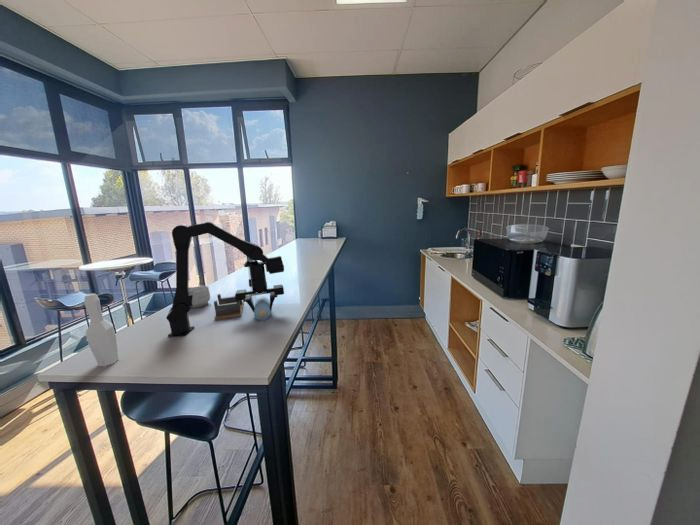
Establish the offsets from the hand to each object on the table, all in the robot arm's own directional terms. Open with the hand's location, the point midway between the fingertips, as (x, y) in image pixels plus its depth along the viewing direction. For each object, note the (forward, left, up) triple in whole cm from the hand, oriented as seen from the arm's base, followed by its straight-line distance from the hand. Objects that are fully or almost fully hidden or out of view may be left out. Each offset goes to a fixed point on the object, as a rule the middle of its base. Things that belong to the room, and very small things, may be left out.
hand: (262, 311), depth 114 cm
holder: (+6, +16, -1) cm, 17 cm away
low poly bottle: (-30, +39, -2) cm, 49 cm away
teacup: (+18, +35, -2) cm, 39 cm away
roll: (0, 0, +2) cm, 2 cm away
